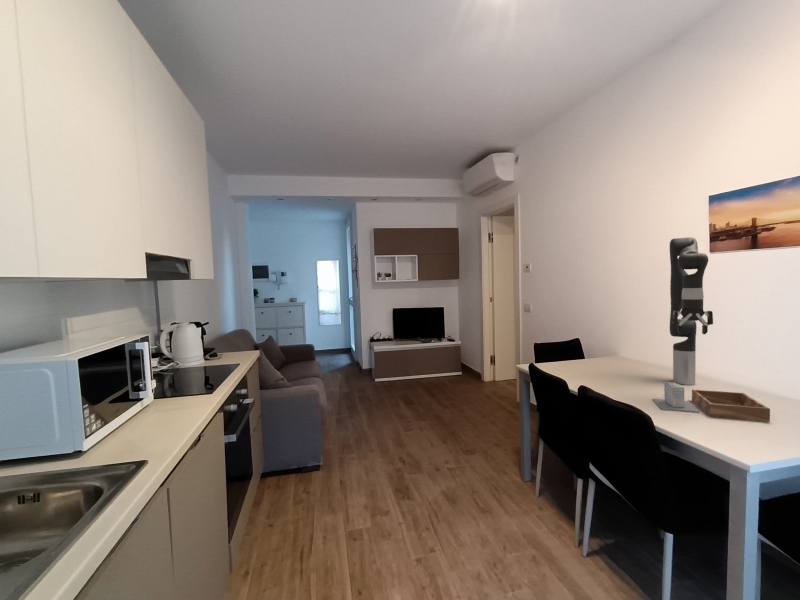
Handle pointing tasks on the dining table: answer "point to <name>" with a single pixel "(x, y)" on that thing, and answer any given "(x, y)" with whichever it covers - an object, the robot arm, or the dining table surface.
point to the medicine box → (674, 394)
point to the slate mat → (666, 406)
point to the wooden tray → (746, 411)
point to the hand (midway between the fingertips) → (692, 333)
